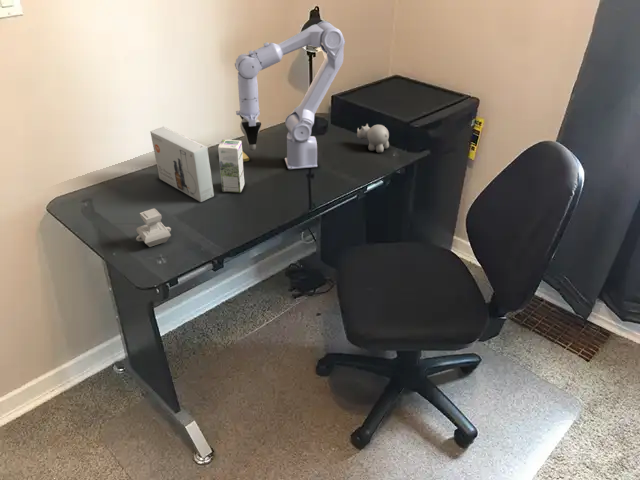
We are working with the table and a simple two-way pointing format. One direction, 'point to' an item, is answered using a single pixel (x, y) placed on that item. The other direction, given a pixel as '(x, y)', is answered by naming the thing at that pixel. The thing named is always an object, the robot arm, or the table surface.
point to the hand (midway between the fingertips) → (251, 139)
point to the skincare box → (183, 163)
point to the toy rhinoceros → (375, 137)
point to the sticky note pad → (245, 157)
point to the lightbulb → (250, 147)
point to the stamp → (152, 228)
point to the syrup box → (231, 165)
